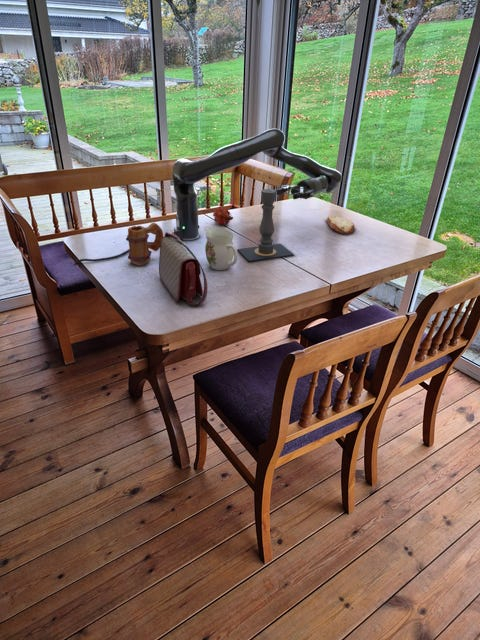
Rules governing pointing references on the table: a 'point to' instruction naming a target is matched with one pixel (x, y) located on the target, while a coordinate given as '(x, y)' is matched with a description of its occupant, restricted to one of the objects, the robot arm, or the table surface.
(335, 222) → the bread slice
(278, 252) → the placemat
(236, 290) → the table surface
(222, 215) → the dragon fruit
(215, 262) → the pitcher
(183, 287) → the handbag
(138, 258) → the mug
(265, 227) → the candle holder
